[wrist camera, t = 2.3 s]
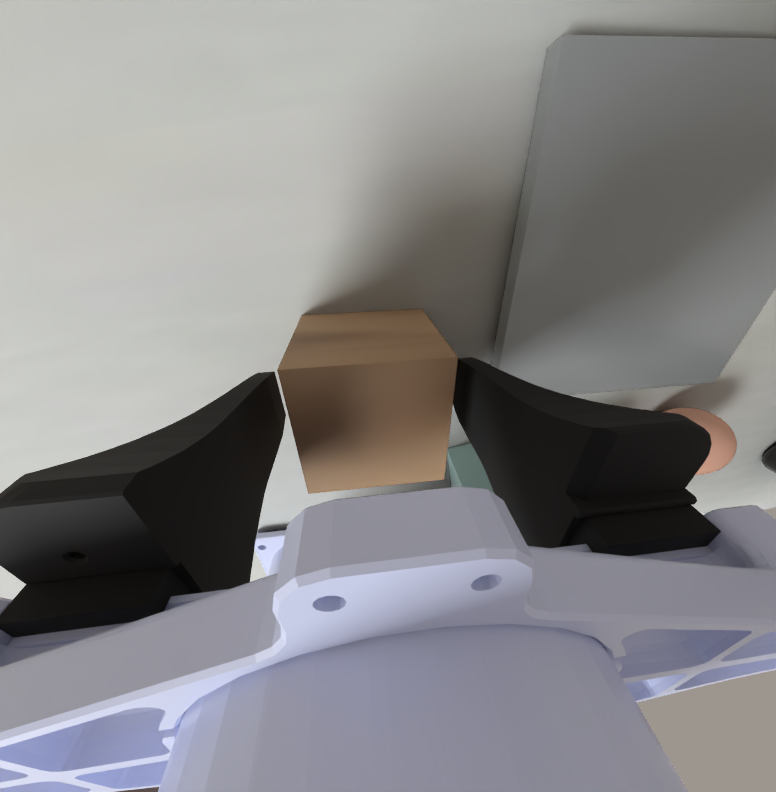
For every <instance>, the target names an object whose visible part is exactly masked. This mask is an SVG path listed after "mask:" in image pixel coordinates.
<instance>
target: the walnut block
mask: <svg viewBox="0 0 776 792" xmlns="http://www.w3.org/2000/svg"><path fill="white" fill-rule="evenodd" d="M457 361H458V357H457V355H456V354H455V353H454V351H453V350H452V349H451V347H450V346H449V344H448V343H447V342H446V340H445V339H444V338H443V336H442V335H441V334H440V332H439V331H438V330H437V328H436V327H435V326H434V324H433V323H432V321H431V320H430V319H429V317H428V316H427V315H426V313H425V312H424V311H423V309H404V310H386V311H368V312H350V313H332V314H314V315H302V316H301V318H300V320H299V323H298V325H297V327H296V329H295V332H294V334H293V336H292V338H291V341H290V343H289V345H288V347H287V349H286V352H285V354H284V356H283V358H282V361H281V363H280V365H279V367H278V370H277V371H278V374H279V378H280V382H281V386H282V390H283V394H284V398H285V402H286V406H287V410H288V414H289V418H290V422H291V426H292V430H293V434H294V438H295V442H296V446H297V450H298V454H299V458H300V462H301V466H302V470H303V474H304V478H305V482H306V486H307V490H308V494H311V493H320V492H330V491H339V490H349V489H359V488H368V487H378V486H387V485H397V484H406V483H416V482H426V481H435V480H444V477H445V468H446V459H447V450H448V441H449V432H450V423H451V414H452V406H453V397H454V388H455V379H456V370H457Z"/></svg>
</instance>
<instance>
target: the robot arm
mask: <svg viewBox="0 0 776 792" xmlns="http://www.w3.org/2000/svg"><path fill="white" fill-rule="evenodd" d="M453 405H454V408H455V411H456V414H457V417H458V419H459V422H460V423H461V425H462V427H463V429H464V431H465V433H466V435H467V437H468V439H469V440H470V442H471V444H472V446H473V448H474V450H475V452H476V453H477V455H478V457H479V459H480V461H481V463H482V465H483V467H484V469H485V471H486V474H487V476H488V479H489V481H490V484H491V486H492V489H493V491H494V494H493V493H492V492H491V491H489V490H488V489H483V488H471V487H459V486H458V487H448V488H439V489H430V490H420V491H411V492H401V493H392V494H383V495H373V496H364V497H355V498H345V499H336V500H332V501H328V502H325V503H321V504H318V505H314V506H311V507H308V508H306V509H304V510H303V511H302V512H301V513H300V514H299V515H298V516H297V517H295V518H294V519H293V520H292V521H291V522H290V523H289V524H288V525H287V529H286V530H282V531H273V532H264V533H258V534H257V530H258V524H259V518H260V513H261V508H262V503H263V498H264V493H265V489H266V486H267V482H268V479H269V476H270V473H271V470H272V467H273V464H274V461H275V458H276V455H277V452H278V449H279V445H280V442H281V439H282V436H283V430H284V423H285V416H286V414H285V410H284V407H283V403H282V399H281V395H280V391H279V387H278V384H277V380H276V376H275V372H263V373H257V374H255V375H253V376H251V377H250V378H248V379H246V380H245V381H243V382H242V383H240V384H239V385H238V386H236V387H235V388H233V389H232V390H230V391H229V392H227V393H226V394H224V395H223V396H221V397H219V398H218V399H216V400H215V401H213V402H211V403H210V404H208V405H206V406H205V407H203V408H201V409H200V410H198V411H196V412H195V413H193V414H191V415H189V416H187V417H185V418H183V419H181V420H179V421H177V422H175V423H173V424H171V425H169V426H167V427H165V428H162V429H160V430H158V431H155V432H153V433H151V434H148V435H146V436H144V437H141V438H139V439H136V440H134V441H131V442H129V443H126V444H123V445H120V446H118V447H115V448H112V449H109V450H106V451H103V452H100V453H97V454H94V455H91V456H88V457H85V458H82V459H78V460H75V461H71V462H68V463H64V464H61V465H57V466H54V467H50V468H47V469H43V470H40V471H36V472H32V473H28V474H25V475H23V476H22V477H20V478H19V479H18V480H16V481H15V482H14V483H13V484H12V485H10V486H9V487H8V488H7V489H5V490H4V491H3V492H2V493H0V565H1V566H2V567H3V568H5V569H6V570H7V571H9V572H10V573H12V574H13V575H14V576H16V577H17V578H18V579H20V580H21V581H22V582H24V583H25V584H26V586H25V587H24V588H23V589H22V590H21V591H20V593H19V594H18V595H17V596H16V597H15V598H14V599H13V600H10V599H5V598H0V792H115V791H124V790H133V789H141V788H150V787H159V790H158V792H688V791H687V789H686V787H685V785H684V784H683V782H682V780H681V778H680V777H679V775H678V773H677V772H676V770H675V768H674V766H673V765H672V763H671V761H670V760H669V758H668V756H667V755H666V753H665V751H664V749H663V748H662V746H661V744H660V742H659V741H658V739H657V737H656V735H655V734H654V732H653V730H652V729H651V727H650V725H649V723H648V722H647V720H646V718H645V717H644V715H643V713H642V712H641V710H640V708H639V706H638V705H637V703H636V702H640V701H644V700H648V699H652V698H656V697H660V696H665V695H669V694H672V693H676V692H681V691H685V690H689V689H693V688H697V687H701V686H705V685H710V684H714V683H718V682H722V681H726V680H731V679H735V678H739V677H744V676H749V675H754V674H759V673H763V672H768V671H773V670H776V519H774V518H773V517H772V516H770V515H769V514H767V513H766V512H765V511H763V510H762V509H761V508H759V507H758V506H754V505H748V506H740V507H731V508H723V509H717V510H713V511H710V512H708V513H706V514H704V515H702V514H701V513H700V512H699V511H697V510H696V509H695V508H694V507H693V506H692V504H695V503H696V501H697V500H696V497H695V496H694V495H693V494H691V493H690V492H689V491H688V490H687V489H685V487H686V486H687V485H688V483H689V482H690V481H691V479H692V478H693V477H694V475H695V474H696V473H697V471H698V470H699V469H700V467H701V466H702V465H703V464H704V462H705V460H706V459H707V457H708V455H709V453H710V449H711V445H712V442H711V436H710V434H709V433H708V431H707V430H706V429H705V428H703V427H702V426H700V425H698V424H697V423H695V422H694V421H692V420H690V419H689V418H687V417H685V416H683V415H681V414H676V413H667V412H658V411H649V410H640V409H632V408H626V407H620V406H614V405H608V404H603V403H598V402H593V401H589V400H585V399H580V398H576V397H572V396H568V395H565V394H561V393H558V392H555V391H552V390H549V389H546V388H543V387H540V386H537V385H534V384H532V383H529V382H527V381H524V380H522V379H520V378H517V377H515V376H513V375H510V374H508V373H506V372H504V371H502V370H500V369H497V368H495V367H493V366H491V365H489V364H487V363H485V362H482V361H480V360H478V359H475V358H459V359H458V361H457V370H456V379H455V388H454V397H453ZM254 549H255V551H256V553H257V555H258V557H259V559H260V562H261V564H262V566H263V568H264V570H265V572H266V574H267V577H264V578H261V579H258V580H255V581H252V582H250V575H251V568H252V561H253V554H254Z"/></svg>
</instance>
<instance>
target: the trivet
mask: <svg viewBox="0 0 776 792" xmlns="http://www.w3.org/2000/svg"><path fill="white" fill-rule="evenodd" d="M775 288H776V38H729V37H673V36H617V35H563V36H561V37H560V38H559V39H558V40H557V41H555V42H554V43H553V44H552V45H550V46H549V47H548V48H547V53H546V58H545V64H544V70H543V75H542V81H541V87H540V92H539V98H538V103H537V109H536V115H535V120H534V126H533V132H532V137H531V143H530V148H529V154H528V160H527V165H526V171H525V177H524V182H523V188H522V194H521V199H520V205H519V210H518V216H517V222H516V227H515V233H514V239H513V244H512V250H511V256H510V261H509V267H508V272H507V278H506V284H505V289H504V295H503V301H502V306H501V312H500V317H499V323H498V329H497V334H496V340H495V346H494V351H493V357H492V363H491V366H493V367H495V368H497V369H500V370H502V371H504V372H506V373H508V374H510V375H513V376H515V377H517V378H520V379H522V380H524V381H527V382H529V383H532V384H534V385H537V386H540V387H543V388H546V389H549V390H552V391H555V392H558V393H561V394H565V395H573V394H585V393H597V392H609V391H621V390H632V389H644V388H656V387H668V386H680V385H691V384H703V383H714V382H715V381H716V379H717V378H718V376H719V375H720V373H721V372H722V370H723V369H724V367H725V365H726V364H727V362H728V361H729V359H730V358H731V356H732V355H733V353H734V351H735V350H736V348H737V347H738V345H739V344H740V342H741V341H742V339H743V338H744V336H745V334H746V333H747V331H748V330H749V328H750V327H751V325H752V324H753V322H754V321H755V319H756V317H757V316H758V314H759V313H760V311H761V310H762V308H763V307H764V305H765V304H766V302H767V300H768V299H769V297H770V296H771V294H772V293H773V291H774V290H775Z"/></svg>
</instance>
